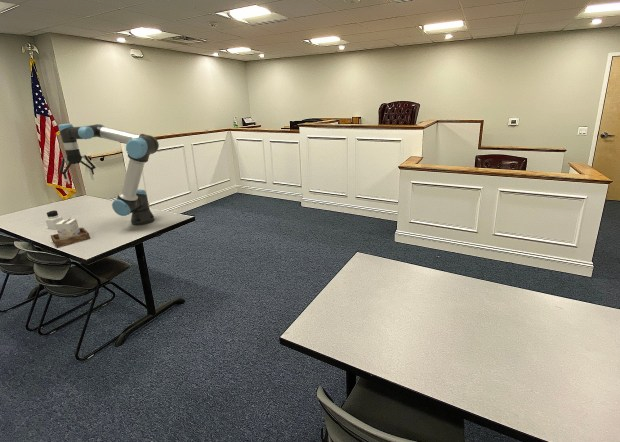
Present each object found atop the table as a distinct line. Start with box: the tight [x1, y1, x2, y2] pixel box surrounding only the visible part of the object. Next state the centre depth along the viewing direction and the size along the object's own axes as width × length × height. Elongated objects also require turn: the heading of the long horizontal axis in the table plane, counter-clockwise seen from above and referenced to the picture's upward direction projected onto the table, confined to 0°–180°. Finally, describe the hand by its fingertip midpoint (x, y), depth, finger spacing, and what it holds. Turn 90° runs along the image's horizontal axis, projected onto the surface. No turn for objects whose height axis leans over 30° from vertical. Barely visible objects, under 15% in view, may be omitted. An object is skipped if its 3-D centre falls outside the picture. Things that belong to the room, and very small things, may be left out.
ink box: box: [55, 216, 81, 240], centre depth 218 cm, size 9×8×13 cm
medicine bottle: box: [44, 210, 64, 230], centre depth 243 cm, size 7×7×12 cm
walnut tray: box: [50, 227, 91, 249], centre depth 220 cm, size 18×15×4 cm
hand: (81, 181), depth 228 cm, fingers open, 13 cm apart
